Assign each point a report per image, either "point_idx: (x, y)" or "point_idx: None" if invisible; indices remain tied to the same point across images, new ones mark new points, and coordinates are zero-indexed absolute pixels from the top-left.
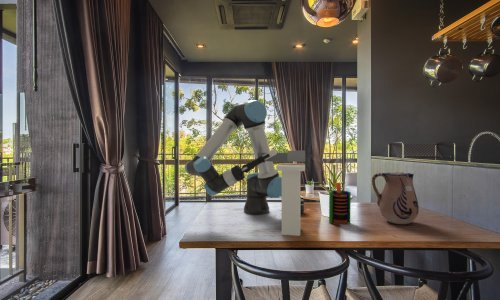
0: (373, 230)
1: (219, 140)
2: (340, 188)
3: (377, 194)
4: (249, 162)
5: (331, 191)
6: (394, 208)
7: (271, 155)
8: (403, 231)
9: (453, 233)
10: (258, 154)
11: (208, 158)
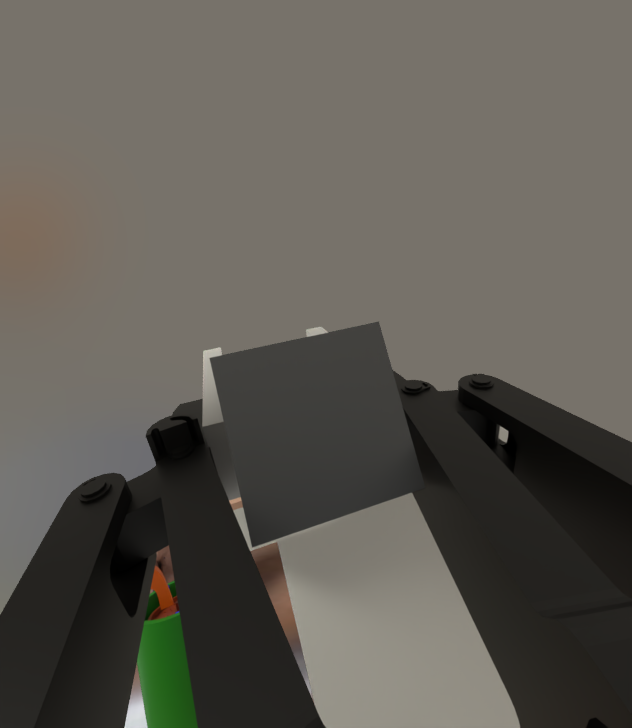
0: (283, 628)
1: None
2: (166, 582)
3: (156, 564)
4: (597, 617)
5: (149, 622)
6: None
7: None
8: (273, 590)
9: (265, 551)
10: (381, 358)
11: None
